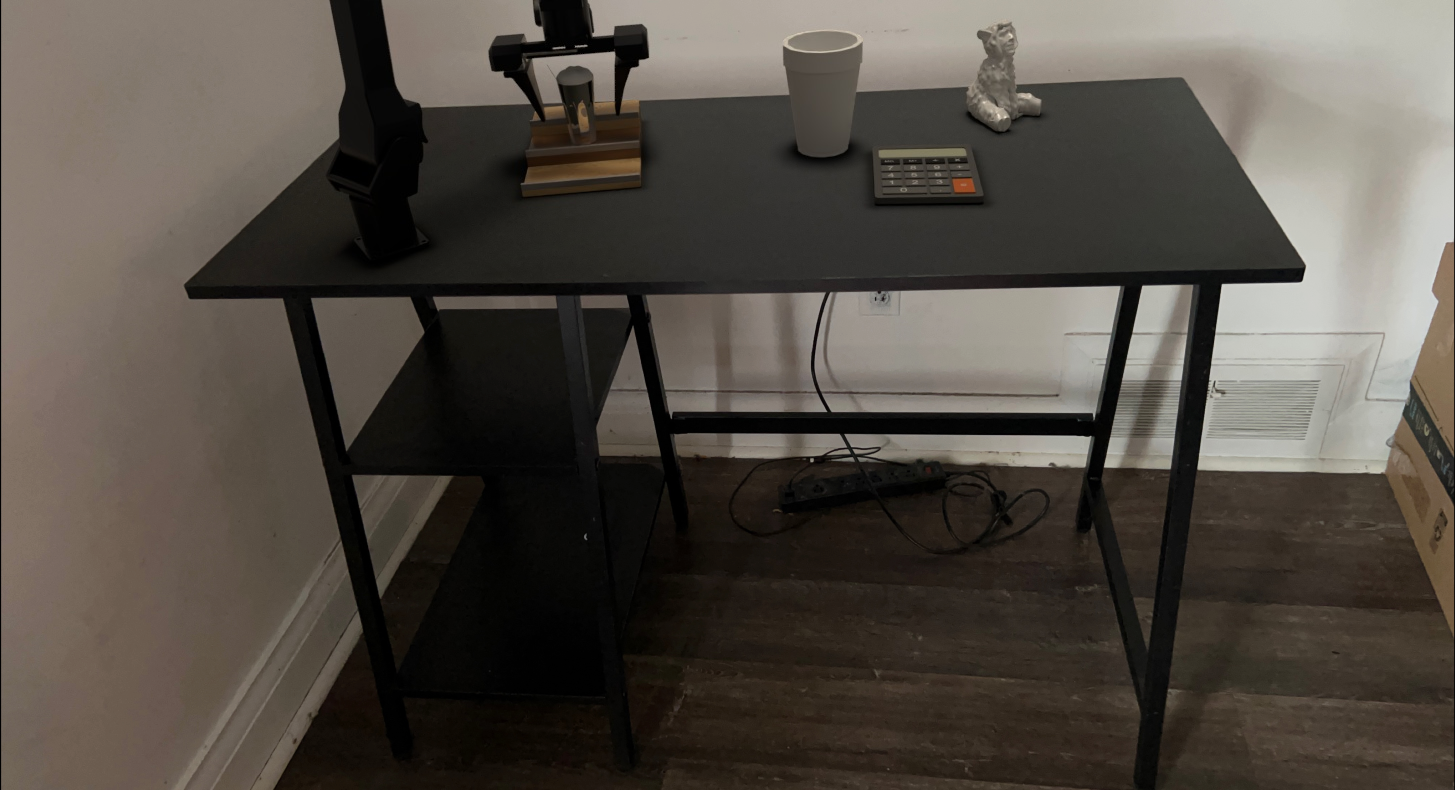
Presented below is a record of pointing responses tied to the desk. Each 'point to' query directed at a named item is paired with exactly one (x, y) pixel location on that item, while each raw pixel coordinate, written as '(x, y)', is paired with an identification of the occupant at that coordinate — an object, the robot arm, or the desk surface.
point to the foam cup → (822, 88)
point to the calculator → (925, 174)
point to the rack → (585, 152)
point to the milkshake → (578, 103)
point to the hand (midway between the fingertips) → (581, 118)
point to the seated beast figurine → (999, 81)
